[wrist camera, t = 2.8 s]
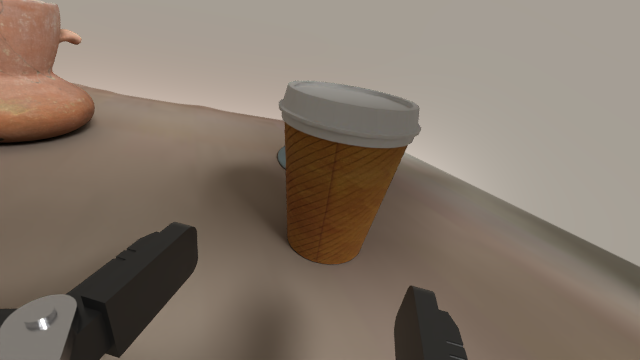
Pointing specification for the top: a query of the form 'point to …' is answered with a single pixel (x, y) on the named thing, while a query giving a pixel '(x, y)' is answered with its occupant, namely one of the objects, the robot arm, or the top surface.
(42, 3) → the ceramic jug
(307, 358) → the top surface
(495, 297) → the top surface
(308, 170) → the disposable coffee cup
